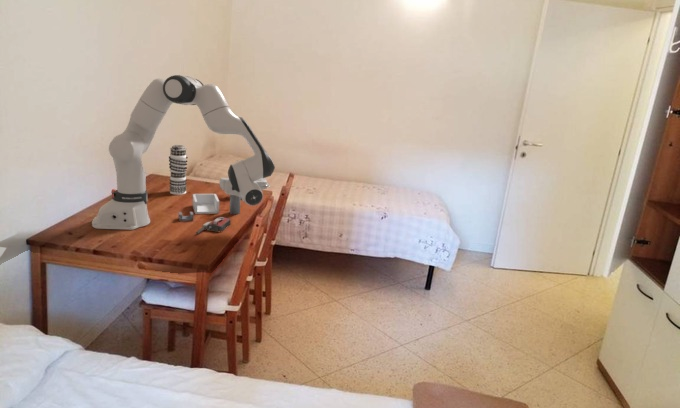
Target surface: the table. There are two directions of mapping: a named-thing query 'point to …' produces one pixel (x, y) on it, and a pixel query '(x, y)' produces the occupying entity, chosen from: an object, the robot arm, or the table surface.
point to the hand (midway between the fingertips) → (240, 178)
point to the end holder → (205, 204)
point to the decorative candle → (178, 170)
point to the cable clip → (185, 217)
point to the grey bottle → (235, 204)
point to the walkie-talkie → (216, 224)
